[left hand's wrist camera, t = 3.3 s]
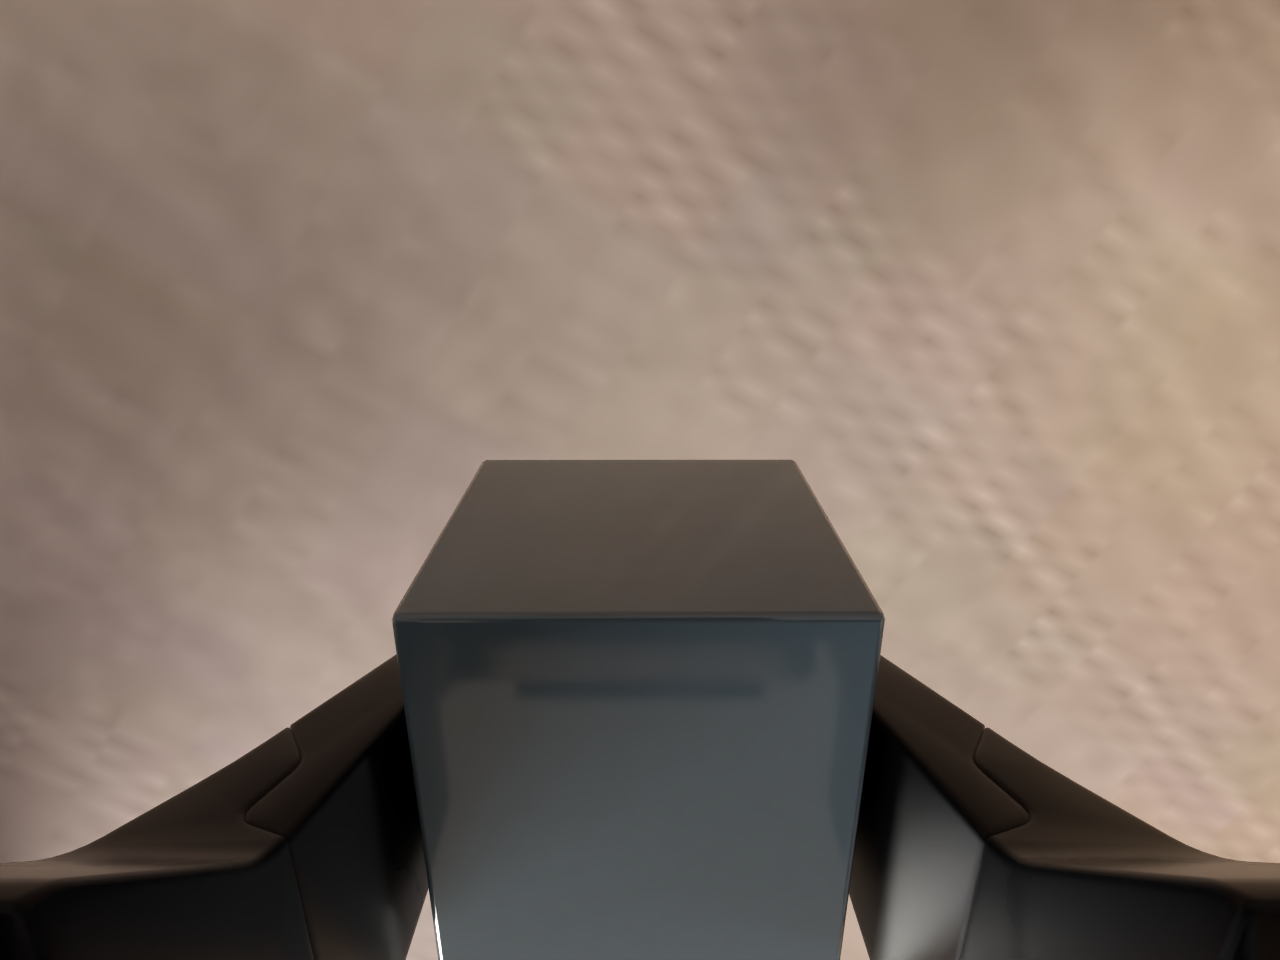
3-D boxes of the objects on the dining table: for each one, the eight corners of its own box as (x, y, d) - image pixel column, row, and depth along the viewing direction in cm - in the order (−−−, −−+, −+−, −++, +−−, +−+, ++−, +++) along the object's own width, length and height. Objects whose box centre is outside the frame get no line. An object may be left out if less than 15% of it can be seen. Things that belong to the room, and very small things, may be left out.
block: (774, 736, 13) (838, 994, 9) (504, 737, 13) (440, 994, 9) (795, 458, 11) (888, 615, 7) (482, 458, 11) (388, 616, 7)
